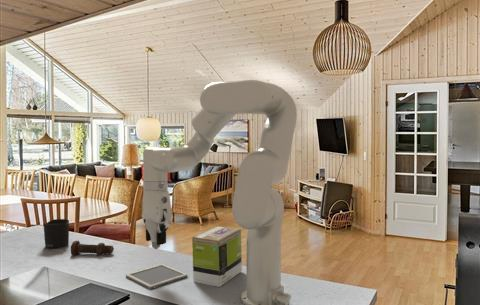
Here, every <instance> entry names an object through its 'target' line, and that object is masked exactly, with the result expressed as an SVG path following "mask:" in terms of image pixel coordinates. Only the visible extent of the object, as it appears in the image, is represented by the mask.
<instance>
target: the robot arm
mask: <svg viewBox="0 0 480 305" xmlns="http://www.w3.org/2000/svg"><path fill="white" fill-rule="evenodd" d="M199 102H200V106H201V108H200V109H199V110H198V112H197V113H196V114H195V115H193V117H192V118H191V125H192V128H193V130H194V131H195V133H194V135H193V136H192V138H190V139H189V141H188V142H187V143H186V144H185V145H184V146H174V147H172V146H171V147H163V146H150V147H145V148H144V149H143V152H142V161H143V165H142V166H143V168H142V171H143V173H142V176H143V178H142V180H143V184H142V185H143V194H142V206H141V207H142V211H141V213H142V214H141V218H142V220H143V223H144V228H145V241H147V242H151V237H150V234H149V232H148V230H147V228H146V222H147V220H148V219H151V220H152V221H153V222H155V223H157V229H158V232H157V245H160V246H161V245H165V244H167V231H168V229H169V227H170V225H172V221H171V219H172V206H171V198H170V192H169V191H168V186H169V185H168V173H176V172H180V171H187V170H191V169H193V168H195V166H197V165H198V164H199V163H200V162H202V160H203V159H204V158H205V157H206V156H207V155H208V153H209V151H210V150H211V148H212V146H213V143H214V141H215V140H214V139H215V138H216V137H217V135H218V134H220V132H221V131H222V130H223V129H224V128H225V127H226V125H228V123H229V122H230V121H232V120H233V118H234V117H235V116H236V115H239V114H240V115H241V114H244V115H245V114H251V115H265V116H266V121H265V122H264V125H263V127H262V131H261V135H260V142H259V144H258V149H257V150H254V151H252V152H250V153H248V154H247V155H246V156H245V157H244V158H243V159H242V161H241V162H240V165H239V168H238V172H237V175H236V183H235V187H234V192H233V199H232V206H231V208H232V209H231V210H232V216H233V220H234V221H235V223H236V224H237V226H239V227H240V228H242V229H245V230H247V231H246V232H247V233H246V290H244V291H242V293H241V295H240V300H241V303H242V304H243V305H289V304H290V300H291V298H292V295H291V294H289V293H285V288H284V287H285V286H284V285H282V284H281V283H282V277H281V276H282V275H281V273H282V272H281V270H282V227H283V220H284V213H285V212H284V211H285V207H284V206H285V203H284V199H283V197H282V195H281V193H280V192H279V191H278V190H276V189H275V188H273V185H276V184H278V183H280V182H282V181H283V180H284V179H285V177H286V175H287V172H288V168H289V167H288V166H289V161H290V158H291V153H292V152H291V151H292V145H293V139H294V134H295V130H296V124H297V118H298V116H297V106H296V103H295V101H294V99H293V98H292V96H291V95H290V94H289V92H287V91H286V90H285V88H284V89H283V88H282V87H280V86H278V85H277V84H274V83H270V82H266V81H261V80H257V79H243V80H231V81H215V82H211V83H209V84H207V85H206V86H205V87H204V88H203V89H202V91H201V93H200V96H199ZM161 220H163V222H161ZM160 224H163V225H162V226H160Z"/></svg>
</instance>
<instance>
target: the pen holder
mask: <svg viewBox="0 0 480 305" xmlns="http://www.w3.org/2000/svg"><path fill="white" fill-rule="evenodd" d="M69 233H70V220H69V219H66V218H58V219H57V218H56V219H51V220H49V221H47V222H46V223H45V222H44V223H43V236H44V247H45V248H46V249H50V250H56V249H62V248H66V247H67V246H68V245H69V241H70V236H69V235H70V234H69Z"/></svg>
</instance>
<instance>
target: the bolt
mask: <svg viewBox="0 0 480 305" xmlns="http://www.w3.org/2000/svg"><path fill="white" fill-rule="evenodd" d="M114 249H115V248H114V245H106V244H105V242H99V243H97V244H84V243H81V242H80V241H79V240H74V241H72V242H71V245H70V254H71V256H75V257H76V256H77V255H78V254H96V256H99V257H100V256H103V255H111V254H113V252H114Z"/></svg>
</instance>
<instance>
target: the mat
mask: <svg viewBox="0 0 480 305" xmlns="http://www.w3.org/2000/svg"><path fill="white" fill-rule="evenodd" d="M184 277H186V278H188V273H185V272H183V271H180V270H178V269H176V268H174V267H171V266H168V265H166V264H164V263H161V264H157V265H154V266H153V265H152V266H151V267H148V268H143V269H140V270H137V271H133V272H130V273H126V274H125V278H127V279H128V280H130V281H133V282H135V283H136V284H138V285H140V286H142V287H144V288H146V287H147V288H146V289H148V290H152V288H153V289H155V288H154V287H156V288H158V287H157V286H159V287H161V286H160V285H162V286H164V285H163V284H165V285H167V284H166V283H168V284H170V283H169V282H171V283H173V282H172V281H174V282H176V281H175V280H177V281H179V280H178V279H180V280H182V279H181V278H183V279H185V278H184Z"/></svg>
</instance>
